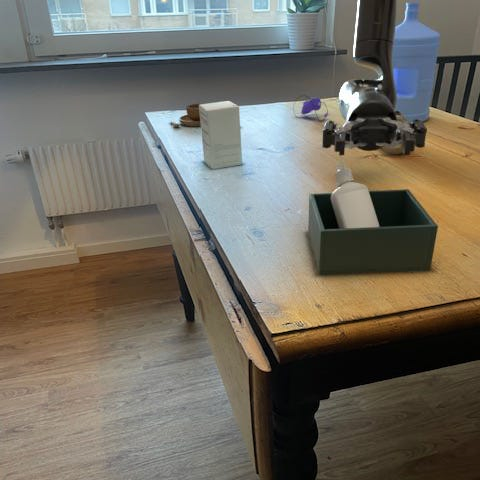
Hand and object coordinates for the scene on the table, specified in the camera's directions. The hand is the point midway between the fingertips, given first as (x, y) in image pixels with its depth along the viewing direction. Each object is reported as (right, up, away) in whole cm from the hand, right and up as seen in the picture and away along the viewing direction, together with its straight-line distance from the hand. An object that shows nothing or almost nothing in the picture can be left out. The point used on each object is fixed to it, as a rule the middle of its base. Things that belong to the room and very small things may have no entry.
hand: (374, 147), depth 67 cm
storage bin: (+1, -13, +8) cm, 15 cm away
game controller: (+4, +37, +82) cm, 90 cm away
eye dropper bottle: (0, -11, +7) cm, 13 cm away
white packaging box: (-22, +13, +49) cm, 55 cm away
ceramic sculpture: (+18, +17, +51) cm, 57 cm away
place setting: (-29, +34, +81) cm, 93 cm away
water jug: (+27, +34, +75) cm, 87 cm away
